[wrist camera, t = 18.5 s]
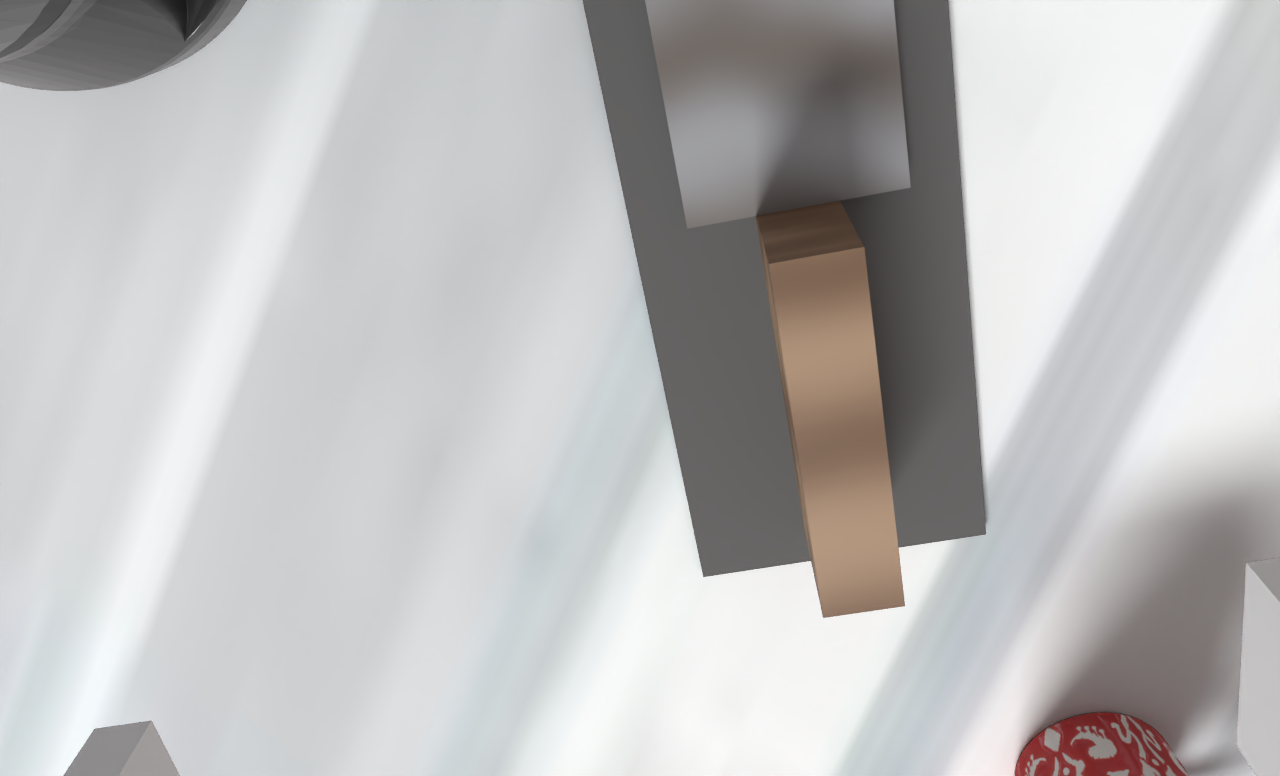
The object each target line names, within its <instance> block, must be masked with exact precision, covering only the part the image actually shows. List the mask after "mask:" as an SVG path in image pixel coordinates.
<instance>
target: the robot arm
mask: <svg viewBox="0 0 1280 776" xmlns="http://www.w3.org/2000/svg"><path fill="white" fill-rule="evenodd" d="M246 1H247V0H0V82H3V83H7V84H11V85H16V86H20V87H26V88H33V89H40V90H53V91H78V90H91V89H100V88H106V87H112V86H116V85H120V84H124V83H128V82H131V81H134V80H137V79H140V78H142V77H145V76H148V75H150V74H153V73H155V72H158V71H160V70H163V69H165V68H168V67H170V66H172V65H174V64H177V63H179V62H181V61H182V60H184V59H186V58H188V57H190V56H191V55H193V54H194V53H196V52H197V51H199V50H200V49H202V48H203V47H205V46H206V45H207V44H208V43H209V42H211V41H212V40H213V39H214V38H215V37H217V36H218V35H219V34H220V33H221V32H222V31H223V30H224V29H225V28H226V27H227V26H228V24H229V23H230V22H231V21H232V20H233V19H234V17H235V16H236V15H237V14H238V12H239V11H240V10H241V8H242V7H243V5H244V4H245V2H246ZM1237 747H1238V749H1239V750H1240V752H1241V753H1242V755H1243V756H1244V758H1245V760H1246V761H1247V763H1248V764H1249V766H1250V767H1251V769H1252V770H1253V772H1254V773H1255V775H1256V776H1280V558H1273V559H1266V560H1260V561H1253V562H1246V575H1245V595H1244V614H1243V633H1242V652H1241V671H1240V690H1239V709H1238V728H1237ZM64 776H180V775H179V773H178V771H177V769H176V767H175V765H174V763H173V761H172V759H171V758H170V756H169V754H168V752H167V750H166V748H165V746H164V744H163V742H162V740H161V738H160V736H159V734H158V732H157V730H156V728H155V726H154V724H153V722H152V721H146V722H139V723H132V724H125V725H118V726H111V727H104V728H97V729H94V730H93V732H92V733H91V735H90V736H89V738H88V739H87V741H86V742H85V744H84V746H83V747H82V749H81V750H80V752H79V753H78V755H77V756H76V758H75V759H74V761H73V762H72V764H71V765H70V767H69V768H68V770H67V771H66V773H65V774H64Z"/></svg>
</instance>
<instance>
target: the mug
mask: <svg viewBox="0 0 1280 776" xmlns="http://www.w3.org/2000/svg"><path fill="white" fill-rule="evenodd" d="M1015 776H1188V775H1187V773H1186V771H1185V769H1184V767H1183V766H1182V764H1181V763H1180V761H1179V760H1178V759H1177V758H1176V756H1175V754H1174V753H1173V751H1172V750H1171V748H1170V747H1169V745H1168V744H1167V742H1166V741H1165V740H1164V738H1163V737H1162V736H1161V735H1160V734H1159V732H1157V731H1156V730H1155V729H1154V728H1153V727H1151V726H1150V725H1148V724H1146V723H1145V722H1143V721H1141V720H1139V719H1137V718H1134V717H1131V716H1127V715H1123V714H1117V713H1106V712H1102V713H1090V714H1083V715H1078V716H1075V717H1071V718H1068V719H1065V720H1063V721H1060V722H1058V723H1056V724H1054V725H1052V726H1050V727H1048V728H1046V729H1045V730H1044V731H1042V732H1041V733H1040V734H1038V735H1037V736H1036V737H1035V738H1034V739H1033V740H1032V741H1031V742H1030V743H1029V744H1028V745H1027V747H1026V748H1025V749H1024V750H1023V752H1022V754H1021V756H1020V758H1019V761H1018V763H1017V765H1016V770H1015Z"/></svg>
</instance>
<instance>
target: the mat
mask: <svg viewBox="0 0 1280 776" xmlns="http://www.w3.org/2000/svg"><path fill="white" fill-rule="evenodd" d="M583 4H584V9H585V13H586V18H587V23H588V28H589V32H590V37H591V42H592V47H593V52H594V56H595V61H596V66H597V71H598V75H599V80H600V85H601V90H602V94H603V99H604V104H605V109H606V114H607V118H608V123H609V128H610V133H611V137H612V142H613V147H614V152H615V157H616V161H617V166H618V171H619V176H620V180H621V185H622V190H623V195H624V200H625V204H626V209H627V214H628V219H629V223H630V228H631V233H632V238H633V243H634V247H635V252H636V257H637V262H638V266H639V271H640V276H641V281H642V285H643V290H644V295H645V300H646V305H647V309H648V314H649V319H650V324H651V328H652V333H653V338H654V343H655V348H656V352H657V357H658V362H659V367H660V371H661V376H662V381H663V386H664V391H665V395H666V400H667V405H668V410H669V414H670V419H671V424H672V429H673V433H674V438H675V443H676V448H677V453H678V457H679V462H680V467H681V472H682V476H683V481H684V486H685V491H686V496H687V500H688V505H689V510H690V515H691V519H692V524H693V529H694V534H695V539H696V543H697V548H698V553H699V558H700V562H701V567H702V572H703V577H706V576H713V575H719V574H726V573H733V572H739V571H746V570H753V569H759V568H766V567H773V566H779V565H786V564H792V563H799V562H806V561H811V558H810V553H809V548H808V543H807V539H806V534H805V529H804V523H803V517H802V510H801V504H800V498H799V491H798V485H797V478H796V472H795V466H794V459H793V453H792V446H791V440H790V434H789V427H788V421H787V414H786V408H785V402H784V395H783V389H782V382H781V376H780V370H779V363H778V357H777V351H776V344H775V338H774V331H773V325H772V319H771V312H770V306H769V299H768V293H767V287H766V280H765V274H764V267H763V261H762V255H761V248H760V242H759V235H758V229H757V223H756V216H753V217H748V218H743V219H737V220H732V221H726V222H721V223H715V224H710V225H705V226H699V227H694V228H688V229H687V224H686V219H685V213H684V208H683V202H682V197H681V192H680V186H679V181H678V175H677V170H676V165H675V159H674V154H673V149H672V143H671V138H670V132H669V127H668V122H667V116H666V111H665V105H664V100H663V95H662V89H661V84H660V78H659V73H658V68H657V62H656V57H655V51H654V46H653V41H652V35H651V30H650V24H649V19H648V14H647V8H646V3H645V0H583ZM894 10H895V21H896V32H897V43H898V54H899V65H900V76H901V87H902V97H903V108H904V119H905V130H906V141H907V152H908V163H909V174H910V185H911V188H905V189H900V190H895V191H889V192H884V193H878V194H873V195H867V196H862V197H857V198H851V199H846V200H840V202H841V204H842V205H843V207H844V209H845V211H846V213H847V215H848V217H849V219H850V221H851V223H852V224H853V226H854V228H855V230H856V232H857V234H858V236H859V238H860V240H861V241H862V243H863V245H864V248H865V257H866V266H867V275H868V284H869V292H870V301H871V310H872V319H873V328H874V337H875V346H876V354H877V363H878V372H879V381H880V390H881V399H882V408H883V416H884V425H885V434H886V443H887V452H888V461H889V469H890V478H891V487H892V496H893V505H894V514H895V523H896V531H897V540H898V548H899V547H905V546H912V545H918V544H925V543H932V542H938V541H945V540H952V539H958V538H965V537H972V536H978V535H985V534H986V527H985V513H984V499H983V485H982V471H981V457H980V443H979V429H978V415H977V401H976V387H975V373H974V359H973V345H972V331H971V317H970V303H969V289H968V275H967V261H966V247H965V233H964V219H963V205H962V191H961V177H960V163H959V149H958V135H957V121H956V107H955V93H954V79H953V65H952V51H951V37H950V23H949V9H948V0H894Z"/></svg>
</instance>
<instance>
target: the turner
mask: <svg viewBox="0 0 1280 776" xmlns="http://www.w3.org/2000/svg"><path fill="white" fill-rule="evenodd" d="M645 3H646V8H647V14H648V19H649V24H650V30H651V35H652V41H653V46H654V51H655V57H656V62H657V68H658V73H659V78H660V84H661V89H662V95H663V100H664V105H665V111H666V116H667V122H668V127H669V132H670V138H671V143H672V149H673V154H674V159H675V165H676V170H677V175H678V181H679V186H680V192H681V197H682V202H683V208H684V213H685V219H686V224H687V229H688V228H694V227H699V226H705V225H710V224H715V223H721V222H726V221H732V220H737V219H743V218H748V217H753V216H756V223H757V229H758V235H759V242H760V248H761V255H762V261H763V267H764V274H765V280H766V287H767V293H768V299H769V306H770V312H771V319H772V325H773V331H774V338H775V344H776V351H777V357H778V363H779V370H780V376H781V382H782V389H783V395H784V402H785V408H786V414H787V421H788V427H789V434H790V440H791V446H792V453H793V459H794V466H795V472H796V478H797V485H798V491H799V498H800V504H801V510H802V517H803V523H804V529H805V534H806V539H807V543H808V548H809V553H810V558H811V562H812V567H813V572H814V576H815V581H816V586H817V591H818V595H819V600H820V605H821V609H822V614H823V618H826V617H833V616H839V615H846V614H853V613H860V612H867V611H874V610H881V609H888V608H895V607H902V606H905V602H904V593H903V584H902V576H901V567H900V558H899V549H898V540H897V531H896V523H895V514H894V505H893V496H892V487H891V478H890V469H889V461H888V452H887V443H886V434H885V425H884V416H883V408H882V399H881V390H880V381H879V372H878V363H877V354H876V346H875V337H874V328H873V319H872V310H871V301H870V292H869V284H868V275H867V266H866V257H865V248H864V245H863V243H862V241H861V240H860V238H859V236H858V234H857V232H856V230H855V228H854V226H853V224H852V223H851V221H850V219H849V217H848V215H847V213H846V211H845V209H844V207H843V205H842V204H841V202H840V200H846V199H851V198H857V197H862V196H867V195H873V194H878V193H884V192H889V191H895V190H900V189H905V188H911V185H910V174H909V163H908V152H907V141H906V130H905V119H904V108H903V97H902V87H901V76H900V65H899V54H898V43H897V32H896V21H895V10H894V0H645Z"/></svg>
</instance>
